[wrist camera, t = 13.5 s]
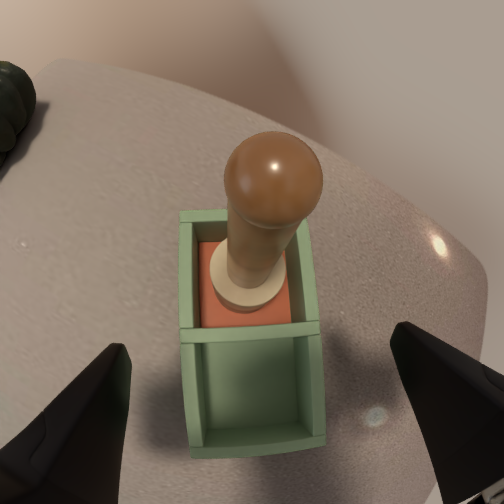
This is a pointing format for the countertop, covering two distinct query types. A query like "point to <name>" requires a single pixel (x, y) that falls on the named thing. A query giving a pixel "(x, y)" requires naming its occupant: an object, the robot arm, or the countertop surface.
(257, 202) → the dish brush
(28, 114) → the squash
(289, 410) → the green divided tray
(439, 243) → the countertop surface
